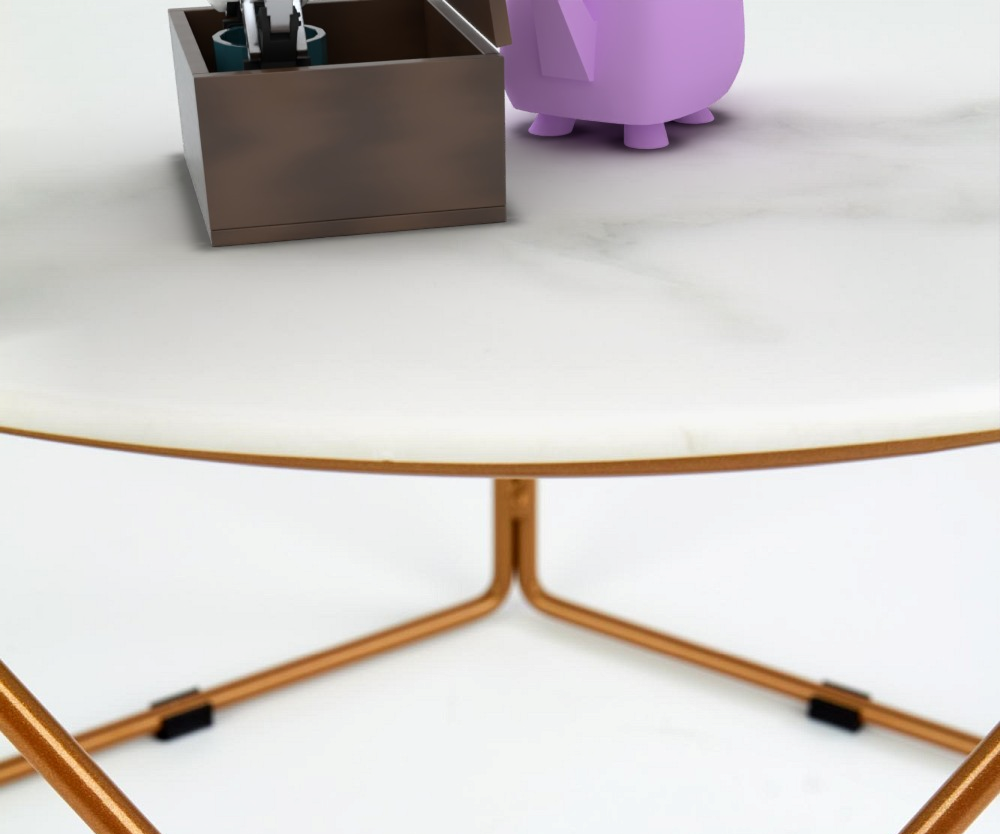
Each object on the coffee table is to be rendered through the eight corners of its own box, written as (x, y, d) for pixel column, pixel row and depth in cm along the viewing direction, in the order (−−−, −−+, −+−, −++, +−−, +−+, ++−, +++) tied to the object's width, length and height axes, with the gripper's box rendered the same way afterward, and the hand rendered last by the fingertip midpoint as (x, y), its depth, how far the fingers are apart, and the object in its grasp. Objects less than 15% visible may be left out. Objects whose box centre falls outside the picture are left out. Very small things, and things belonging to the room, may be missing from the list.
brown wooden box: (211, 247, 83) (193, 77, 78) (184, 157, 96) (167, 8, 92) (506, 222, 85) (504, 56, 81) (439, 138, 99) (434, -8, 94)
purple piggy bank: (603, 78, 110) (607, -143, 103) (784, 99, 105) (801, -133, 98) (439, 153, 96) (430, -98, 89) (639, 182, 91) (646, -83, 83)
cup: (233, 195, 87) (218, 49, 83) (222, 166, 91) (207, 27, 87) (342, 187, 88) (332, 42, 84) (326, 158, 92) (316, 20, 88)
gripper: (144, -275, 85) (184, 87, 94) (170, -252, 71) (213, 170, 80) (295, -279, 86) (319, 78, 96) (350, -257, 72) (371, 159, 82)
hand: (271, 120), depth 88 cm, fingers open, 9 cm apart
